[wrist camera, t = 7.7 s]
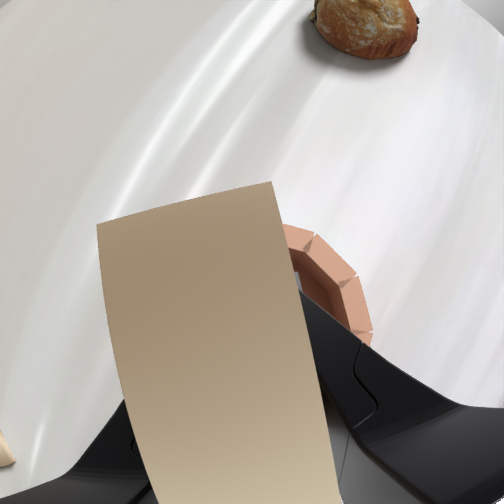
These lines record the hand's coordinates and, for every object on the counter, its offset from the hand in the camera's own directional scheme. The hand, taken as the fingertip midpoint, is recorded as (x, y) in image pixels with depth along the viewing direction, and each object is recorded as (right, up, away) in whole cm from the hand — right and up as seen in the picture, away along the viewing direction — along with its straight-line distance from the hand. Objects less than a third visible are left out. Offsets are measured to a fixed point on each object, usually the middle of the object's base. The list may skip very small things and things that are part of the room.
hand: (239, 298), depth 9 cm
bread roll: (+11, +22, +15) cm, 29 cm away
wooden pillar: (+1, -3, +6) cm, 7 cm away
